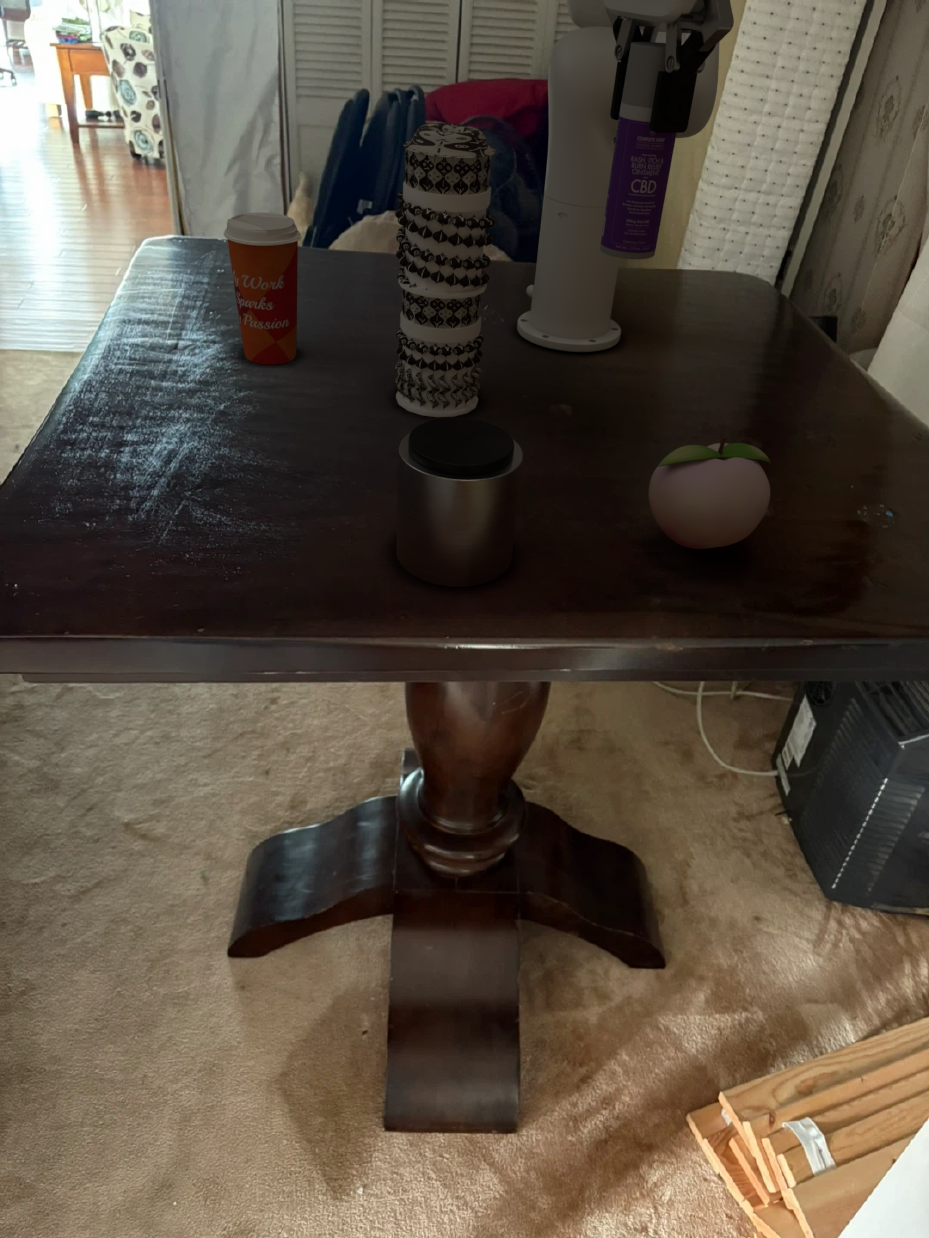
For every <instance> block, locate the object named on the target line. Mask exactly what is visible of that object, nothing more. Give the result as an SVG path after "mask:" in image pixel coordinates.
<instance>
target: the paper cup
mask: <svg viewBox="0 0 929 1238" xmlns="http://www.w3.org/2000/svg"><path fill="white" fill-rule="evenodd" d="M223 237H224V238H225V239H227V245H228V252H229V253H228V254H229V260H230V265H231V266H230V267H231V274H232V280H233V287H234V295H235V301H236V309H237V314H238V322H239V328H240V336H241V341H242V348H243V354H244V356H245V358H246V359H247V360H248V361H250V362H252V363H255V364H259V365H267V366H269V365H271V366H272V365H281V364H286V363H290V362H291V361H293V360H294V359H295V358H296V356H297V339H298V337H297V336H298V261H299V260H298V259H299V258H298V256H299V255H298V254H299V253H298V252H299V247H298V246H299V241H300V240H301V239H302V234H301V232H300V230H299V229H298V226H297V225H296V223H295V219H293V217H291V216H288V215H286V214H280V213H273V212H261V211H260V212H259V211H258V212H257V211H256V212H255V211H254V212H244V213H240V214H238V215H235V216H233V217H232V216H231V218H228V219H227V220H226V228H225V229H224V231H223Z"/></svg>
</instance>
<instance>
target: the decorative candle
mask: <svg viewBox="0 0 929 1238" xmlns="http://www.w3.org/2000/svg"><path fill="white" fill-rule="evenodd" d="M402 146H403V147H404V149H405V171H404V173H405V174H404V181H403V183H402V191H401V192H400V191H398V192H397V195H395V197H394V198H395V200H396V201H397V202H398V206H397V207H396V209H395V211H394V217H396V218H397V223H398V224H399V225H401V226H400V227H399V228H398V229H397V234H396V236H395V239H396V241H397V242H398V245H399V246H398V250H396V252H395V257H396V258H397V259H398V264H399V265H400V267H399V269H398V273H397V274H396V279H397V283H398V285H399V286H400V288H401V289H402V302H401V303H402V304H401V311H400V312H399V313H400V317H399V318H400V319H399V328H398V331H397V332H396V333H395V336H396V338H397V339H398V346H396V349H395V352H396V354H398V358H399V359H398V360H397V362H396V364H395V367H394V370H395V372H396V374H397V377H396V379H395V381H394V384H395V385H394V386H395V387H396V388H397V392H396V394H395V399H396V401H397V405H399V406H400V407H402V408H403V409H405V410H406V411H407V412H409V413H414V414H416V415H420V416H423V417H424V416H425V417H431V418H451V417H458V416H462V415H466V414H468V413H470V412H471V411H474V410H475V409H476V408H477V405H478V402H479V398H478V393H479V390H480V388H481V384H480V383H479V382H478V381H479V380H480V375H481V374H482V369H481V368H480V367H479V363H480V362H481V358H482V357H483V352H482V350H480V348H481V347H482V346H483V345H482V343H483V342H484V339H485V338H484V336H483V335H482V334H481V331H482V330H481V328H482V315H481V313H480V310H481V305H482V298H481V297H482V296H481V295H482V294H483V293H485V291H486V289H487V286H488V282H489V280H490V276H489V275H488V273H486V272H485V271H484V269H486V268H488V267H489V266H490V265H491V262H492V261H491V258H490V257H489V256H488V255H486V253H484V247H485V249H486V248H487V247H488V246H491V245H492V244H493V242H494V241H495V237H494V235H492V234H491V233H490V232H489V229H490V228H492V227H494V226H495V224H496V219H495V217H494V216H493V215H492V214H490V212H489V211H488V212H487V209H488V208H489V206H490V204H491V196H492V187H491V186H490V176H491V171H492V168H491V167H492V166H491V159H492V156H493V155H495V153H496V152H497V150H496V149H494V148H493V147H492V146H490V144H489V142H488V140H487V138H486V136H485V134H484V132H483V131H481V130H480V129H478V128H476V127H473V126H471V125H466V124H465V125H464V124H459V123H446V122H444V123H443V122H442V123H441V122H436V123H434V122H433V123H427V124H422V125H421V126H419V128H417V130H415V131H414V133H413V135H412V137H411V138H410V140H409V141H406V142H405V143H403V144H402Z"/></svg>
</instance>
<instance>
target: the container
mask: <svg viewBox="0 0 929 1238" xmlns="http://www.w3.org/2000/svg"><path fill="white" fill-rule="evenodd" d="M665 51H666V43H656V42H632V43H631V47H630V53H629V59H628V65H627V71H626V77H625V83H624V89H623V95H622V101H621V107H620V113H619V119H618V126H617V133H616V137H615V139H614V140H615V141H614V145H615V147H614V154H613V161H612V168H611V175H610V182H609V189H608V196H607V203H606V210H605V217H604V224H603V231H602V238H601V245H600V250H601V251H602V252H603V253H605V254H607V255H610V256H614V257H619V258H620V259H626V260H646V259H650V258H651V259H652V258H653V257H655V254H656V250H657V246H658V245H657V244H658V239H659V232H660V227H661V222H662V216H663V211H664V204H665V199H666V194H667V188H668V183H669V178H670V171H671V167H672V161H673V155H674V149H675V144H676V139H677V138H676V134H677V133H655V132H652V131H651V130H650V120H651V114H652V107H653V101H654V95H655V89H656V83H657V77H658V72H659V71H666V69H665Z"/></svg>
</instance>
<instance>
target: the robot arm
mask: <svg viewBox="0 0 929 1238" xmlns="http://www.w3.org/2000/svg"><path fill="white" fill-rule="evenodd" d="M565 2H566V8H567V12H568V15H569V17H570V19H571V21H572V22H573V24H575V26H577V27H579V28H576V29H573V30H570V31H569V32H567V33H565V34H564V35H562V36H561V37H560V38H559V39H558V40H557V42H556V43H555V45H554V47H553V49H552V51H551V54H550V58H549V63H548V72H547V99H548V100H547V101H548V103H547V105H548V140H547V141H548V142H547V143H548V144H547V158H546V170H545V178H544V179H545V180H544V188H543V189H544V190H543V200H542V209H541V219H540V220H541V221H540V228H539V238H538V247H537V256H536V265H535V275H534V284H530V285H528V286H527V287H526V290H525V291H526V294H527V296H529V297H530V298H531V305H530V310H527V311H526V312H523V313H522V314H521V315H520V316H519V317H518V318H517V321H516V322H517V324H516V330H517V333H518V334H519V335H520V336H521V337H522V338H523V339H524V340H526V341H528V342H530V343H532V344H534V345H536V346H539V347H542V348H546V349H550V350H554V351H561V352H570V353H593V352H599V351H604V350H607V349H611V348H612V347H615V346H616V345H617V344H618V343H619V342H620V339H621V335H622V328H621V327H620V325H619V324H618V323H617V322H616V321H615V320H613V319H611V316H612V309H613V302H614V297H615V291H616V283H617V278H618V274H619V273H618V272H619V266H620V260H621V258H619V257H614V256H610V255H607V254H605V253H603V252H602V251H601V250H600V245H601V238H602V231H603V224H604V217H605V210H606V203H607V196H608V189H609V182H610V175H611V168H612V161H613V154H614V147H615V141H614V140H615V139H614V138H616V133H617V126H618V119H619V113H620V107H621V101H622V95H623V89H624V83H625V77H626V71H627V65H628V59H629V53H630V47H631V43H632V42H656V43H666V51H665V69H666V71H659V72H658V77H657V83H656V89H655V95H654V101H653V107H652V114H651V120H650V130H651V131H652V132H655V133H677V134H676V139H687V138H690V137H694V136H696V135H698V134H699V133H700V132H702V131H703V129H705V127H706V126H707V124H708V123H709V121H710V119H711V117H712V114H713V111H714V108H715V103H716V98H717V93H718V86H719V85H718V83H719V70H720V68H719V67H720V42H721V41H722V40H723V39H724V38H725V37H726V36H727V35H728V34H729V33H730V32H731V31H732V29H733V28H734V23H735V21H734V20H735V18H734V14H733V13H734V12H733V8H732V3H731V0H566V1H565Z"/></svg>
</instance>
